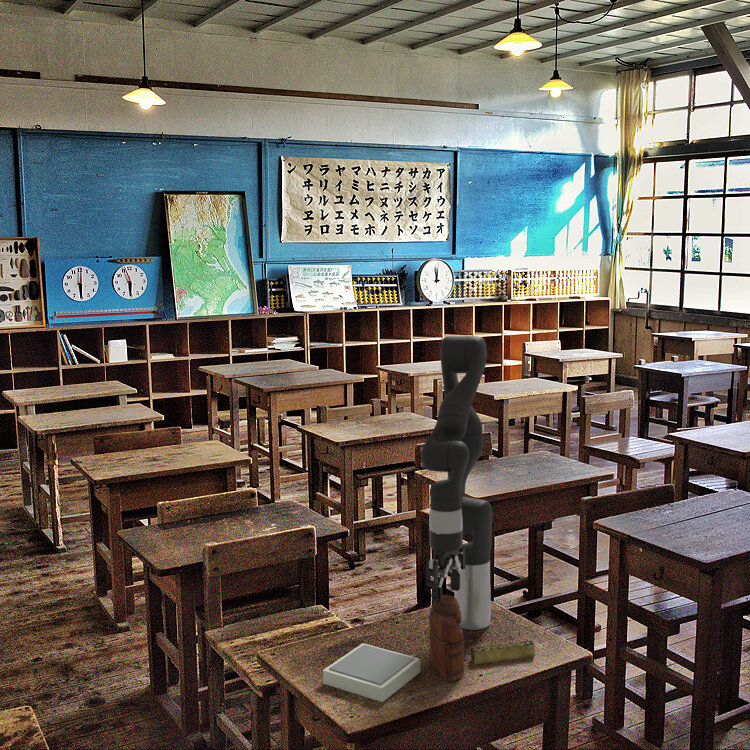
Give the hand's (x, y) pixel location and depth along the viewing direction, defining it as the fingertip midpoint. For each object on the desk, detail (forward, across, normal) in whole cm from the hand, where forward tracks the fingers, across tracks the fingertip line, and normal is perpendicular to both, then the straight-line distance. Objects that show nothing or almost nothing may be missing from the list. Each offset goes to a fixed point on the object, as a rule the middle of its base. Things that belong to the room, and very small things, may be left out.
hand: (446, 595), depth 200 cm
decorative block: (+18, -12, +8) cm, 24 cm away
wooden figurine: (+18, 0, 0) cm, 18 cm away
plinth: (+18, +12, -13) cm, 25 cm away
